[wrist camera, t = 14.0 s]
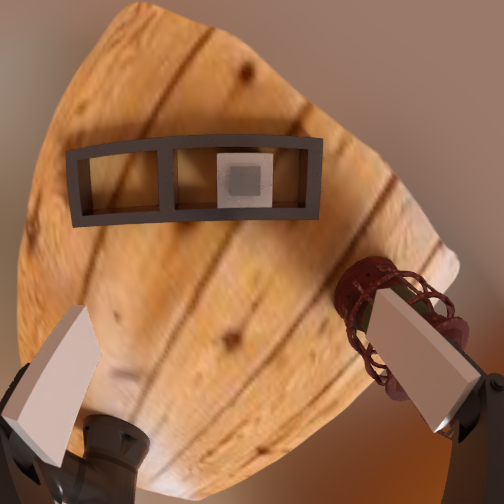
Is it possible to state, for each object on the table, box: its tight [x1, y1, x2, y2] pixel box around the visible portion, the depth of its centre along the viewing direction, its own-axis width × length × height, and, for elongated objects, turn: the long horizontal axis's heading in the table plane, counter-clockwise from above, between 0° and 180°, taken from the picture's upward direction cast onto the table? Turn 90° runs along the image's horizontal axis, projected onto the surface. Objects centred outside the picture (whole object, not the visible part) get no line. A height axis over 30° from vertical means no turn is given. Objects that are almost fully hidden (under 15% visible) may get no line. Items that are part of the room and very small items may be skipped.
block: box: [217, 152, 273, 208], centre depth 25 cm, size 4×4×7 cm
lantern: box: [335, 257, 469, 441], centre depth 22 cm, size 12×12×30 cm
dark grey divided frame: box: [66, 134, 323, 228], centre depth 26 cm, size 26×8×3 cm, turn 89°
